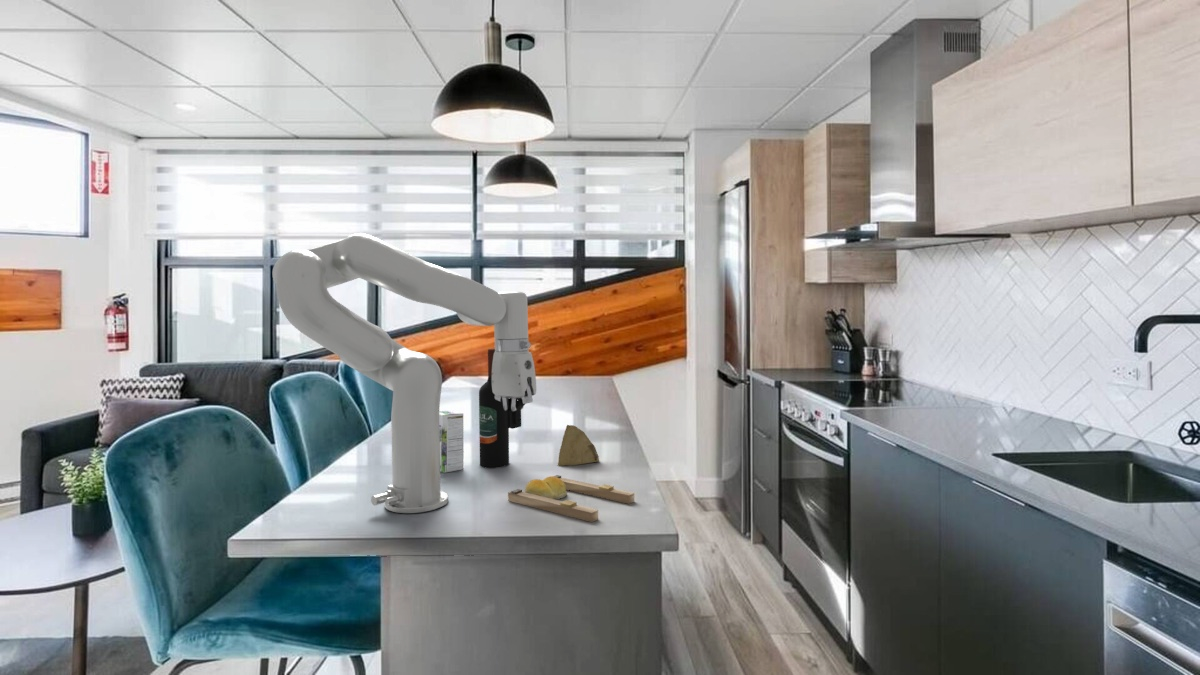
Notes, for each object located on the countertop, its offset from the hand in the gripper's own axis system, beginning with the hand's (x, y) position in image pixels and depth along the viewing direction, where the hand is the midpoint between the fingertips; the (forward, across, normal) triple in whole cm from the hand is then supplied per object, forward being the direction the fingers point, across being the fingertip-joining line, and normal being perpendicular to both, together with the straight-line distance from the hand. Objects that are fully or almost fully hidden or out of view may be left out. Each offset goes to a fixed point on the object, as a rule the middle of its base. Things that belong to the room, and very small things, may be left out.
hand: (514, 427), depth 136 cm
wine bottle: (+14, +18, -11) cm, 26 cm away
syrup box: (+14, +24, -1) cm, 28 cm away
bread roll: (+14, -10, +1) cm, 17 cm away
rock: (+14, +1, -25) cm, 29 cm away
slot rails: (+14, -17, +1) cm, 22 cm away
